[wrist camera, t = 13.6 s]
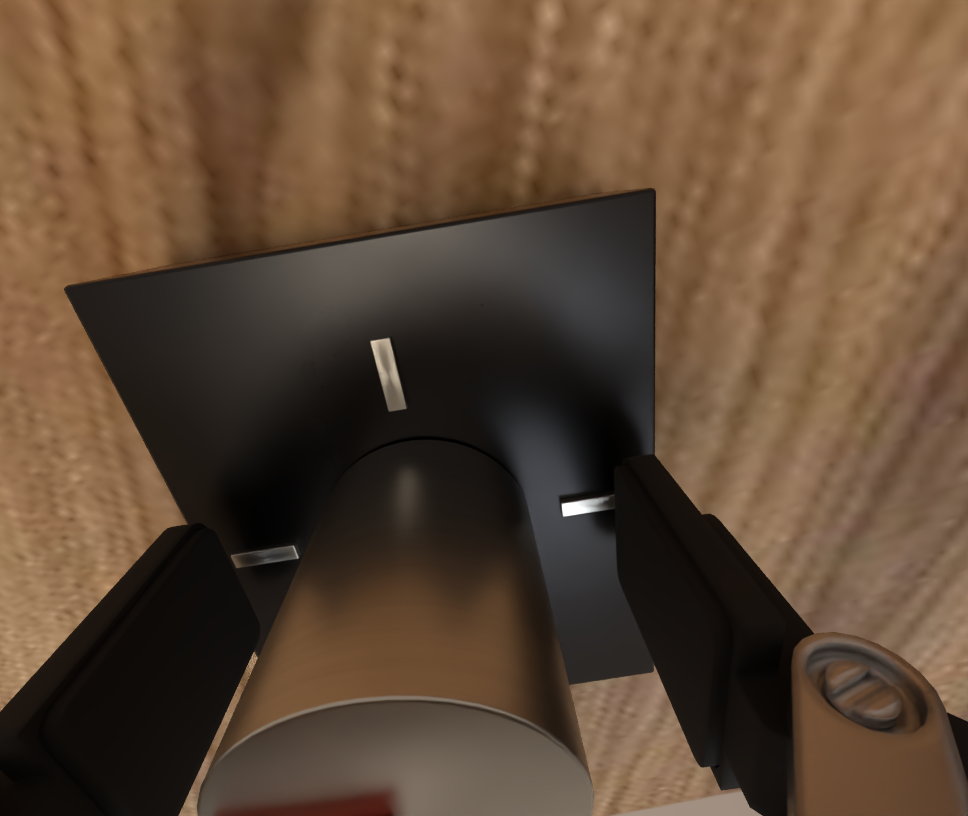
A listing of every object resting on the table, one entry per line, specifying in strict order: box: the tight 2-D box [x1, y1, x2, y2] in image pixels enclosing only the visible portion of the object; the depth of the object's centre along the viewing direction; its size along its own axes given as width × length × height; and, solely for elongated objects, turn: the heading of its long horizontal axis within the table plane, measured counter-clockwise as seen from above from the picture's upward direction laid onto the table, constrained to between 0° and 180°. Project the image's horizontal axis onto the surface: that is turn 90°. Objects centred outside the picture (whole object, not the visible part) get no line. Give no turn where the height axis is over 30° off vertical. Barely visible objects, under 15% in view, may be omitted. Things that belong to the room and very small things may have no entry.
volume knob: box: [197, 440, 594, 816], centre depth 7 cm, size 4×4×6 cm
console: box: [64, 188, 656, 685], centre depth 11 cm, size 12×10×3 cm
